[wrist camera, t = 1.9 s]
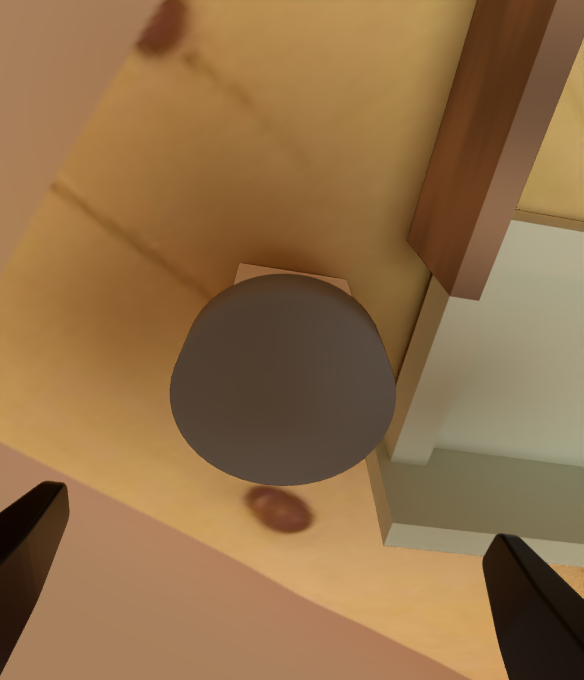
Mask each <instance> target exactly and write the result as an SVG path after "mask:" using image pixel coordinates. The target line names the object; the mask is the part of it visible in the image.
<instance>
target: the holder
mask: <svg viewBox="0 0 584 680" xmlns="http://www.w3.org/2000/svg"><path fill="white" fill-rule="evenodd" d="M583 38H584V0H477V3H476V6H475V10H474V13H473V17H472V20H471V24H470V27H469V30H468V34H467V37H466V41H465V44H464V47H463V51H462V54H461V58H460V61H459V65H458V68H457V71H456V75H455V78H454V82H453V85H452V88H451V92H450V95H449V99H448V102H447V105H446V109H445V112H444V116H443V119H442V123H441V126H440V129H439V133H438V136H437V140H436V143H435V146H434V150H433V153H432V157H431V160H430V163H429V167H428V170H427V174H426V177H425V181H424V184H423V187H422V191H421V194H420V198H419V201H418V204H417V208H416V211H415V215H414V218H413V221H412V225H411V228H410V232H409V235H408V239H407V241H408V243H409V244H410V245H411V247H412V248H413V249H414V250H415V252H416V253H417V254H418V256H419V257H420V258H421V259H422V261H423V262H424V263H425V265H426V266H427V267H428V269H429V270H430V271H431V272H432V274H433V275H434V276H435V278H436V279H437V280H438V282H439V283H440V284H441V285H442V287H443V288H444V289H445V291H446V292H447V293H448V295H449V296H451V297H457V298H463V299H470V300H476V301H479V300H480V297H481V295H482V292H483V290H484V287H485V285H486V282H487V280H488V277H489V275H490V272H491V270H492V267H493V265H494V262H495V260H496V257H497V255H498V252H499V250H500V247H501V245H502V242H503V240H504V237H505V234H506V232H507V229H508V227H509V224H510V222H511V219H512V217H513V214H514V212H515V209H516V207H517V204H518V202H519V199H520V197H521V194H522V192H523V189H524V187H525V184H526V182H527V179H528V177H529V174H530V171H531V169H532V166H533V164H534V161H535V159H536V156H537V154H538V151H539V149H540V146H541V144H542V141H543V139H544V136H545V134H546V131H547V129H548V126H549V124H550V121H551V119H552V116H553V114H554V111H555V108H556V106H557V103H558V101H559V98H560V96H561V93H562V91H563V88H564V86H565V83H566V81H567V78H568V76H569V73H570V71H571V68H572V66H573V63H574V61H575V58H576V56H577V53H578V50H579V48H580V45H581V43H582V40H583Z"/></svg>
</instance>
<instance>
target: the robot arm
mask: <svg viewBox="0 0 584 680" xmlns="http://www.w3.org/2000/svg"><path fill="white" fill-rule="evenodd" d="M68 519H69V500H68V491H67V486H66V484H65V483H62V482H55V481H44V482H42V483H40V484H38V485H37V486H36V487H34V488H33V489H32V490H30V491H29V492H28V493H26V494H25V495H23V496H22V497H21V498H19V499H18V500H17V501H15V502H14V503H12V504H11V505H10V506H8V507H7V508H6V509H4V510H3V511H2V512H0V675H1V673H2V671H3V669H4V667H5V665H6V663H7V661H8V659H9V657H10V655H11V653H12V651H13V649H14V647H15V645H16V643H17V641H18V639H19V637H20V635H21V633H22V631H23V629H24V627H25V625H26V623H27V621H28V619H29V617H30V615H31V613H32V611H33V609H34V607H35V605H36V603H37V601H38V598H39V595H40V593H41V591H42V588H43V586H44V583H45V580H46V578H47V575H48V572H49V570H50V567H51V564H52V562H53V559H54V556H55V554H56V551H57V549H58V546H59V543H60V541H61V538H62V536H63V533H64V530H65V528H66V525H67V522H68ZM482 565H483V572H484V577H485V582H486V587H487V592H488V597H489V602H490V606H491V611H492V616H493V621H494V626H495V631H496V635H497V639H498V644H499V647H500V651H501V654H502V658H503V661H504V664H505V668H506V671H507V674H508V678H509V680H584V599H583V598H582V597H581V596H580V595H579V594H578V593H577V592H576V591H575V590H574V589H573V588H572V587H571V586H570V585H569V584H568V583H566V582H565V581H564V580H563V579H562V578H561V577H560V576H559V575H558V574H557V573H556V572H555V571H554V570H553V569H552V568H551V567H550V566H549V565H548V564H547V563H546V562H545V561H544V560H543V559H542V558H541V557H540V556H539V555H538V554H537V553H536V552H535V551H534V550H533V549H532V548H531V547H530V546H528V545H527V544H526V543H525V542H524V541H523V540H522V539H521V538H520V537H519V536H517V535H513V534H505V533H499V534H497V535H496V536H495V537H494V539H493V541H492V542H491V544H490V546H489V548H488V549H487V551H486V553H485V555H484V557H483V562H482Z"/></svg>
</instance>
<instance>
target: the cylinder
mask: <svg viewBox="0 0 584 680" xmlns="http://www.w3.org/2000/svg"><path fill="white" fill-rule="evenodd" d="M170 403H171V408H172V413H173V416H174V419H175V422H176V424H177V426H178V428H179V430H180V432H181V434H182V436H183V437H184V438H185V440H186V441H187V442H188V444H189V445H190V446H191V447H192V448H193V449H194V450H195V451H196V453H197V454H198V455H200V456H201V457H202V458H203V459H205V460H206V461H207V462H208V463H210V464H211V465H213V466H215V467H216V468H218V469H219V470H221V471H223V472H225V473H227V474H229V475H232V476H234V477H237V478H240V479H243V480H246V481H250V482H254V483H259V484H265V485H276V486H294V485H302V484H309V483H314V482H318V481H322V480H325V479H328V478H331V477H333V476H336V475H338V474H340V473H342V472H344V471H346V470H348V469H350V468H351V467H353V466H355V465H356V464H357V463H359V462H360V461H362V460H363V459H364V458H365V457H366V456H367V455H369V454H370V453H371V452H372V451H373V450H374V449H375V447H376V446H377V445H378V444H379V442H380V441H381V440H382V438H383V437H384V435H385V433H386V432H387V430H388V428H389V425H390V423H391V421H392V418H393V414H394V410H395V404H396V383H395V379H394V375H393V371H392V368H391V365H390V362H389V360H388V357H387V354H386V351H385V349H384V346H383V343H382V340H381V338H380V335H379V332H378V330H377V328H376V325H375V324H374V322H373V320H372V319H371V317H370V315H369V314H368V313H367V312H366V310H365V309H364V308H363V307H362V305H361V304H359V303H358V302H357V301H356V300H355V299H354V298H353V297H352V296H350V295H349V294H347V293H346V292H345V291H343V290H342V289H340V288H338V287H336V286H334V285H332V284H330V283H328V282H325V281H323V280H320V279H317V278H313V277H309V276H304V275H298V274H269V275H263V276H257V277H254V278H250V279H247V280H244V281H241V282H239V283H237V284H235V285H232V286H230V287H229V288H227V289H226V290H224V291H222V292H221V293H219V294H218V295H217V296H216V297H214V298H213V299H212V300H211V301H210V302H209V303H208V304H207V305H206V306H205V307H204V308H203V309H202V310H201V312H200V313H199V315H198V316H197V318H196V319H195V320H194V323H193V325H192V327H191V329H190V331H189V333H188V336H187V338H186V340H185V343H184V345H183V348H182V350H181V352H180V355H179V357H178V360H177V362H176V364H175V367H174V371H173V374H172V377H171V385H170Z"/></svg>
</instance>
